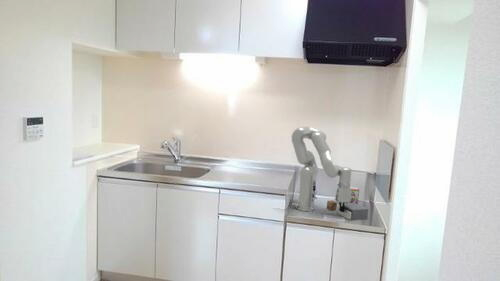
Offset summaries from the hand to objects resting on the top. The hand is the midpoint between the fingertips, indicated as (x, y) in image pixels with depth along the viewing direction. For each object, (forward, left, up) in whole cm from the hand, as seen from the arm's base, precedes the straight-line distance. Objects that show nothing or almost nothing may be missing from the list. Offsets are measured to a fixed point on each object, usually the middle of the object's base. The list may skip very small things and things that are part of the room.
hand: (341, 211), depth 226 cm
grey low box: (+10, +1, -4) cm, 11 cm away
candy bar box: (+17, +16, -4) cm, 23 cm away
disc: (+8, +1, -2) cm, 8 cm away
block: (+2, +16, -4) cm, 16 cm away
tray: (+8, +1, -4) cm, 9 cm away
